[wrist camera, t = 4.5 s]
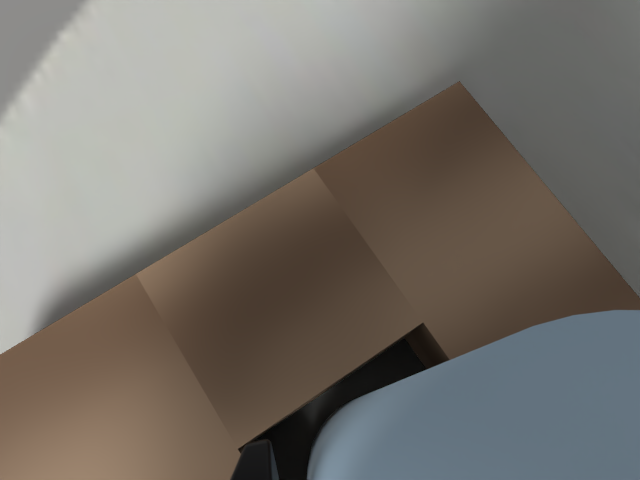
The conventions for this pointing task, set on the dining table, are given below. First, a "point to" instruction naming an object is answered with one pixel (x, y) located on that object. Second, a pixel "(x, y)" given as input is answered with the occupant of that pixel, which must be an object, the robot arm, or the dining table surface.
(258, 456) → the robot arm
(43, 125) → the dining table surface
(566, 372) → the peg
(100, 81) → the dining table surface
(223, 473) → the pocket block
